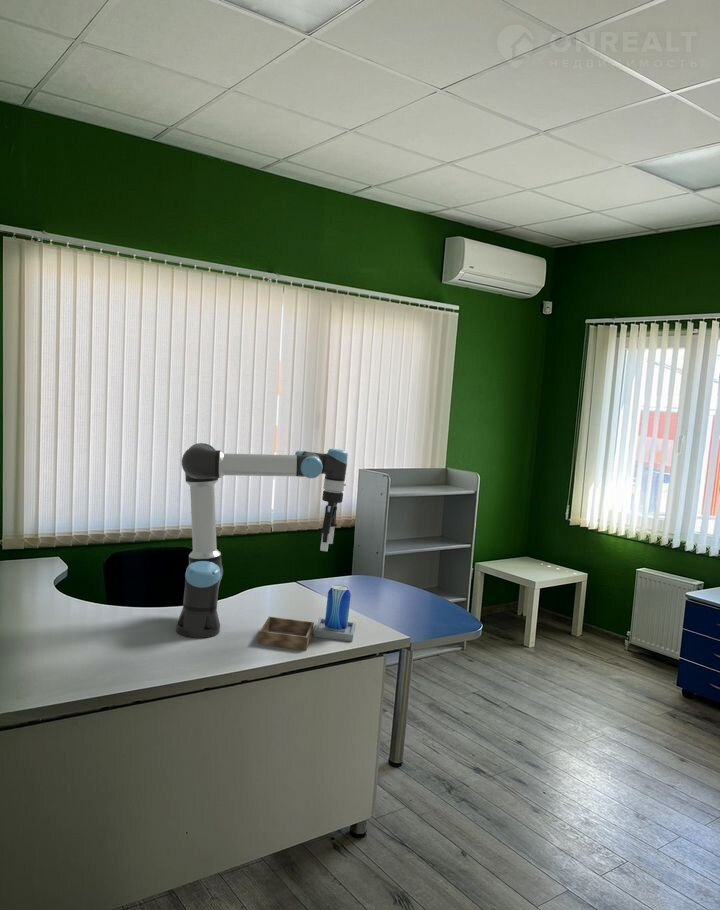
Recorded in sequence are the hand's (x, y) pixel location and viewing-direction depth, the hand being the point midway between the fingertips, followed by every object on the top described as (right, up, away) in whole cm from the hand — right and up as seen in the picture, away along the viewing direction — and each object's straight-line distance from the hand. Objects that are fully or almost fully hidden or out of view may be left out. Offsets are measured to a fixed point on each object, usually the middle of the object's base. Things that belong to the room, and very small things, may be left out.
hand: (326, 547), depth 268 cm
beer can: (+3, -30, -2) cm, 31 cm away
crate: (-13, -31, -15) cm, 36 cm away
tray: (+3, -31, -3) cm, 32 cm away
